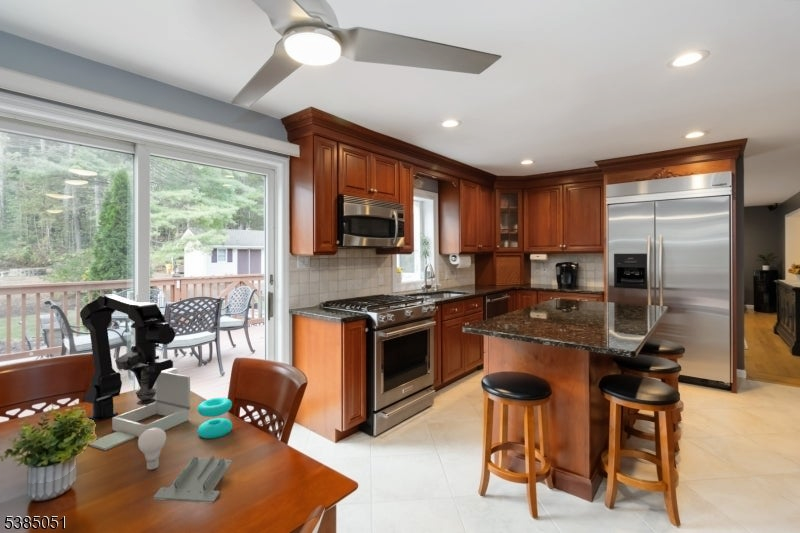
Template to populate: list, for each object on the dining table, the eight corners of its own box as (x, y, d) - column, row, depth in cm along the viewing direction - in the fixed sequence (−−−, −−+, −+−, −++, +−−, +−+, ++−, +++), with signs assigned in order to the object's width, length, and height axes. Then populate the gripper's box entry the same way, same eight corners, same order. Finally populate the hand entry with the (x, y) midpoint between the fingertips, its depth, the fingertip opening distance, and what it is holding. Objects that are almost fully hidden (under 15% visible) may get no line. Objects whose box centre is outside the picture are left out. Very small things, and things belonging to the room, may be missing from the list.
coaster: (87, 444, 115) (87, 442, 115) (117, 432, 123) (117, 431, 123) (105, 450, 112) (105, 448, 112) (134, 437, 120) (134, 435, 120)
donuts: (216, 394, 130) (238, 398, 126) (216, 423, 130) (239, 428, 126) (190, 405, 120) (213, 410, 117) (190, 436, 121) (214, 442, 117)
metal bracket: (186, 449, 102) (240, 452, 100) (190, 466, 104) (243, 469, 102) (147, 496, 88) (209, 500, 87) (153, 515, 90) (213, 520, 89)
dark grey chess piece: (141, 406, 123) (140, 369, 123) (132, 402, 126) (131, 366, 126) (160, 400, 128) (159, 365, 128) (151, 397, 131) (150, 362, 131)
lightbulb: (172, 465, 104) (171, 425, 104) (150, 477, 98) (149, 435, 98) (155, 460, 106) (154, 421, 106) (132, 473, 100) (131, 431, 100)
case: (112, 429, 125) (111, 384, 125) (159, 411, 140) (158, 370, 139) (145, 438, 119) (144, 391, 119) (190, 418, 134) (190, 376, 133)
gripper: (100, 344, 123) (101, 392, 123) (139, 350, 116) (140, 401, 116) (136, 337, 133) (136, 381, 133) (174, 342, 126) (174, 389, 126)
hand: (146, 388), depth 127 cm, fingers closed on dark grey chess piece, 3 cm apart
